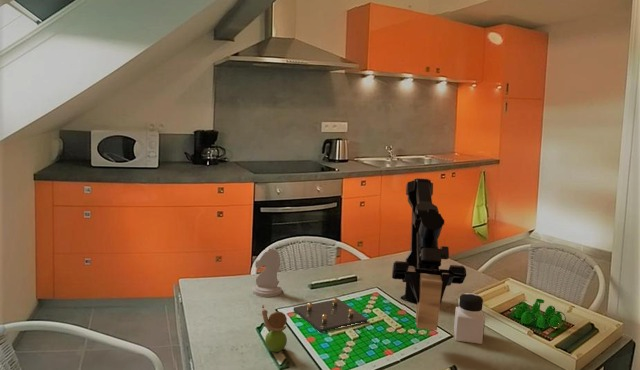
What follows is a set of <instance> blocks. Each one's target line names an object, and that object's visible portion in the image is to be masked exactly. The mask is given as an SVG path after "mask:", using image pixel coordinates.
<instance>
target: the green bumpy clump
mask: <svg viewBox="0 0 640 370" xmlns="http://www.w3.org/2000/svg"><path fill="white" fill-rule="evenodd" d="M544 303H545V300H544V299H542V298H536V299H535V301H534V303H533V304H532V307H531V309H530V306H529V304H528V303H527V302H525V301H519V302H518V304H517V305H515V306H513V308H512V309H511V315H512V317H513V318H514V316H515V317H516V319H520V318H521V319H520V323H521V324H522V325H523V323H524V325H530V324H531V322H532V320H533V318H537V320H536V327H537V326H538V327H539V326H540V327H541V328H543V327H544V328H545V326H546V322H547V325H548V324H550V326H553V327H558V328H560V329H561V328H562V325H561V323H564V324H565V322H566V321H567V317H566V315H565V313H563V312H562V311H560V310H559V311H558V310H556V308H555V306H553V305H548V306H547V308H545V311H544V313H540V311H541V304H544ZM515 308H516V309H515ZM514 310H515V312H513V311H514ZM514 313H515V315H514ZM562 315H563V316H564V320H563V316H562ZM547 318H548V319H547ZM546 320H547V321H546ZM562 321H563V322H562ZM558 323H559V324H560V325H559V324H558Z"/></svg>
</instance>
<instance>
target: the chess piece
mask: <svg viewBox="0 0 640 370" xmlns="http://www.w3.org/2000/svg"><path fill="white" fill-rule="evenodd" d="M254 265H255V268H257V270H261V268H262V267H265V268H264V269H263V270H262V271H261V272H260V273H259V274H258V276H257V277H256V279H255V283H256V284H255V285H254V286H253V287H252V289H251V290H252V291H251V292H252V294H253V295H255V296H257V297H261V298H272V297H276V296H279V295H281V294H282V292H283V289H282V287H281V285H280V284H279V283H280V280H278V271H279V269H280V266H281V256H280V253H279V251H278V250H277V249H276V248H274V247H269V248H268V250H266V251H264V253H263V254H262V255H261V257H260V259H258V260H256V261H255V264H254Z"/></svg>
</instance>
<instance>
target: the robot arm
mask: <svg viewBox="0 0 640 370" xmlns="http://www.w3.org/2000/svg"><path fill="white" fill-rule="evenodd" d="M405 187H406V188H405V195H406V196H407V202H408V204H409V206H410V207H411V229H410V230H411V231H410V252H409V254H408V255H407V257H406V258H405V261H403V260H401V261H399V260H396V261H394V262H393V265H392V272H391V278H392V279H393V280H401V282H402V283H405V287H404V288H405V289H404V290H405V292H404V294H403V295H401V296H400V299H402V300H404V301H408V302H411V303H414V304H417V302H418V303H419V301H420V295H419V282H420V273H424V274H433V275H440V277H441V280H442V290H441V299H440V305H442V301H443V298H444V293H445V292H446V291H445V290H446V288H447V287H448V286H449V287H450V286H451V285H452V284H458V285H461V284H463V283H464V281H465V280H466V279H465V278H466V277H467V268H466V267H465V266H464V265H455V264H450V265H449V268H448V269H446V268H445V269H444V268H443V269H442V268H440V267H441V266H442V260H448V259H449V258H450V251H449V250H450V248H449V246H440V248H439V238H440V236H441V233H442V230H443V227H444V225H445V219H444V218H443V216H442V214H441V213H440V212H439V207H438V206H437V205H435V204H434V203H433V198H432V196H433V195H434V182H432V181H431V179H429V178H414V179H413V180H411V181H407V183H406V186H405Z"/></svg>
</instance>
